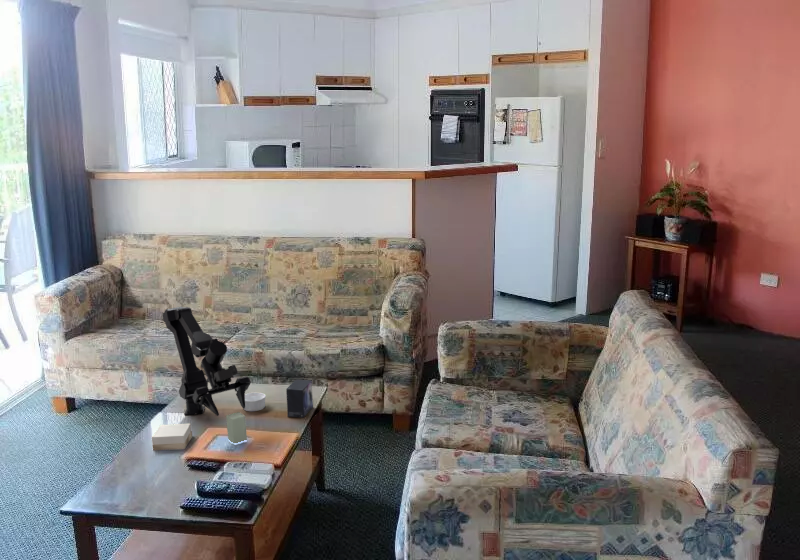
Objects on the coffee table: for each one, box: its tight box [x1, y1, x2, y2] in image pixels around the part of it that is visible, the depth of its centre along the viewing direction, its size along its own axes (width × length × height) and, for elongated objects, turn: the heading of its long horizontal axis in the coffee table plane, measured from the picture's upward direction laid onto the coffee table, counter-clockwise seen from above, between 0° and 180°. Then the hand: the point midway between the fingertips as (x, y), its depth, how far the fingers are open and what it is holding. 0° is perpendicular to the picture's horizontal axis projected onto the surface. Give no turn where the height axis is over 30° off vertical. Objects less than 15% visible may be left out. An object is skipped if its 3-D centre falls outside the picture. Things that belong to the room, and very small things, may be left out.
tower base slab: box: [152, 430, 193, 451], centre depth 243 cm, size 10×10×2 cm
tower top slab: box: [151, 423, 192, 445], centre depth 243 cm, size 10×10×2 cm
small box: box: [286, 378, 314, 419], centre depth 265 cm, size 11×6×10 cm, turn 168°
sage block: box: [225, 411, 248, 443], centre depth 242 cm, size 4×4×9 cm
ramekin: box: [243, 391, 267, 412], centre depth 272 cm, size 9×9×4 cm
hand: (231, 411), depth 243 cm, fingers open, 9 cm apart
